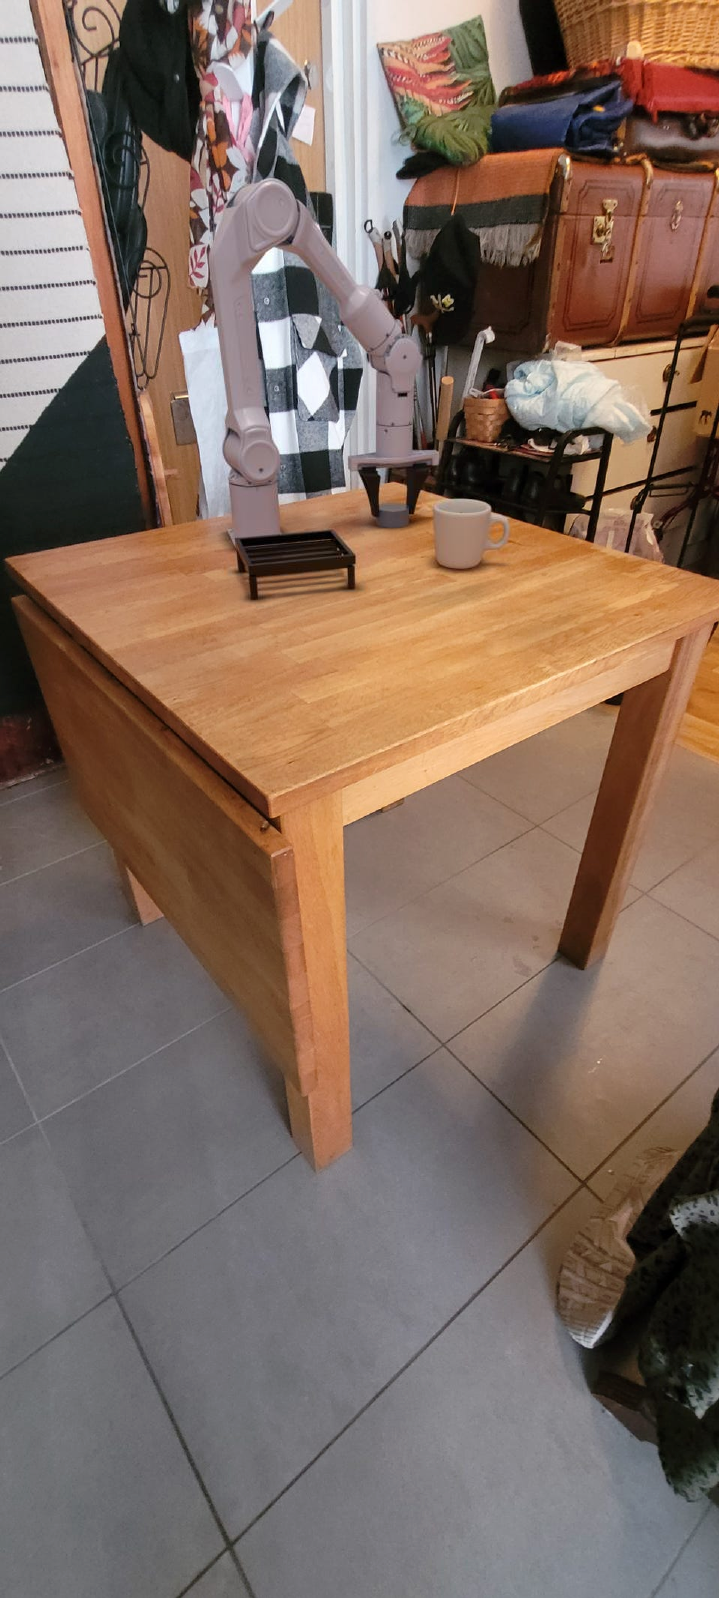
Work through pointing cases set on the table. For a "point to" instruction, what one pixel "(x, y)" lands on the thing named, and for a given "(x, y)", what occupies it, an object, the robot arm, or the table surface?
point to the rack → (293, 555)
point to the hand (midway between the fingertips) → (392, 514)
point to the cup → (465, 532)
